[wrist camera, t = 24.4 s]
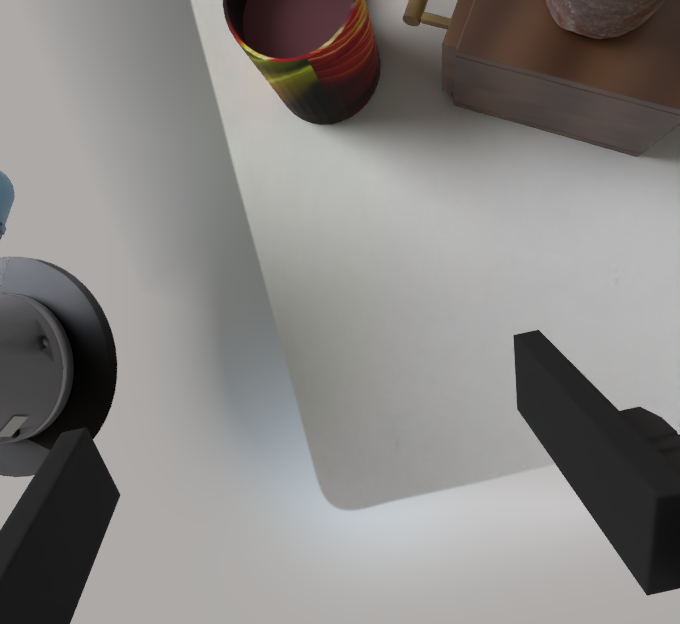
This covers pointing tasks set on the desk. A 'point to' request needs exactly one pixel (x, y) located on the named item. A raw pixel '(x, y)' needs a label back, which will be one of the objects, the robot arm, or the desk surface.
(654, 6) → the candle
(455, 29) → the dresser drawer
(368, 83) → the mug
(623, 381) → the desk surface
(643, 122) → the dresser
